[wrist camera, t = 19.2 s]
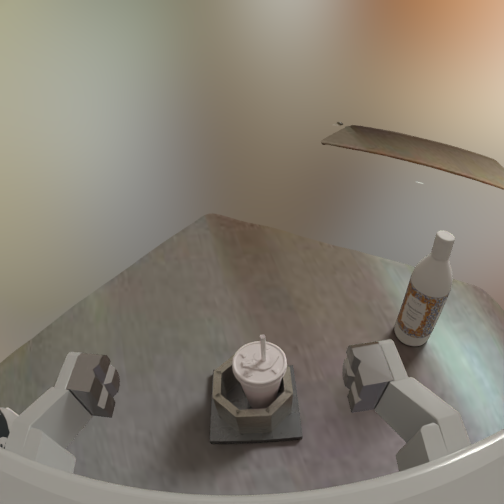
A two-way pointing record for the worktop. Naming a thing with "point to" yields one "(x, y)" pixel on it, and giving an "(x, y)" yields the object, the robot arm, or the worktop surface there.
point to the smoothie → (259, 371)
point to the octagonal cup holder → (252, 411)
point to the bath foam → (426, 293)
